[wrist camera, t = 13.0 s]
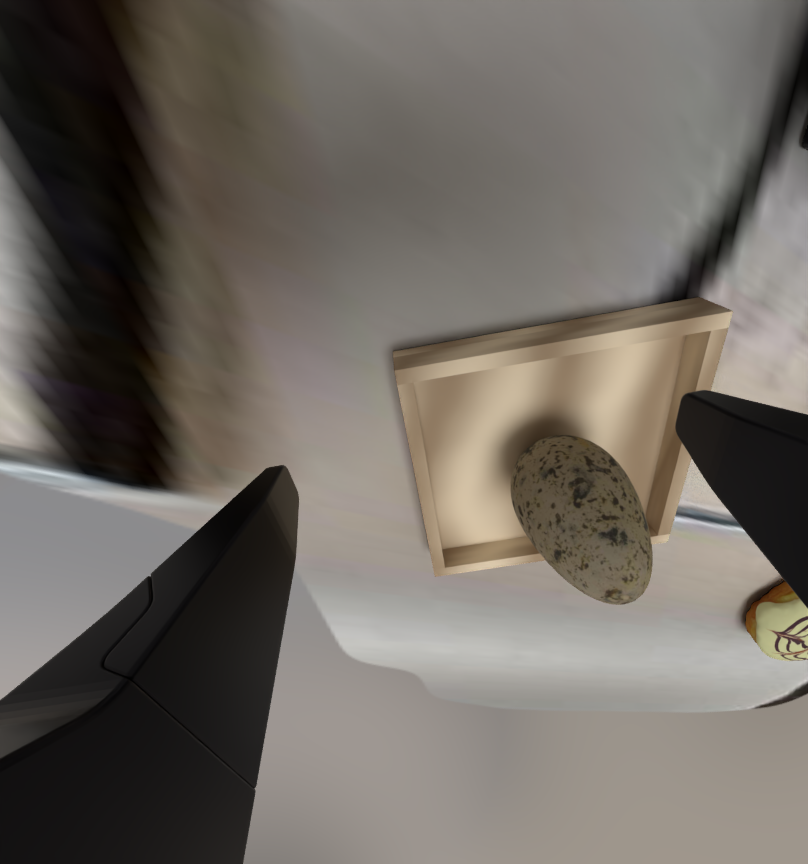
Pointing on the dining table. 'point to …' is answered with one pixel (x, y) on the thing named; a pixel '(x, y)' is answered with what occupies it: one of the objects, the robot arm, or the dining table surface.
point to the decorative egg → (583, 517)
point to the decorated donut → (780, 624)
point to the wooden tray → (550, 417)
